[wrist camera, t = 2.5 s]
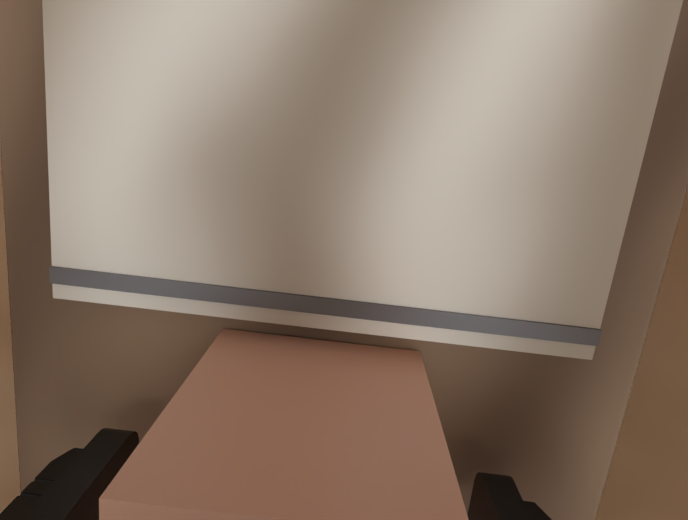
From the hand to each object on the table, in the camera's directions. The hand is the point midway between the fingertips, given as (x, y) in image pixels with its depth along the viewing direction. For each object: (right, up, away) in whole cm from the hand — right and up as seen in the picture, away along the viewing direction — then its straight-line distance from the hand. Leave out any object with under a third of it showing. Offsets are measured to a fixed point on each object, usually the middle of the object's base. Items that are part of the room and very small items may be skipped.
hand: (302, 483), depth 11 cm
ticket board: (0, +3, +2) cm, 4 cm away
